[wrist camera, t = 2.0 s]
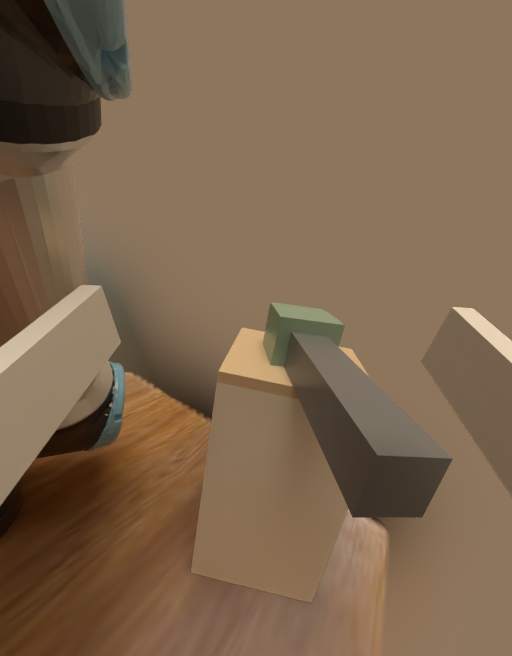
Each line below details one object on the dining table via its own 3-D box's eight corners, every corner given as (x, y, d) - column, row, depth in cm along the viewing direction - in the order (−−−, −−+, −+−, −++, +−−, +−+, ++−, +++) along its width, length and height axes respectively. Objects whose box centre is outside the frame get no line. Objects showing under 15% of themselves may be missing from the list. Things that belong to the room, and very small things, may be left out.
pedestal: (217, 481, 47) (242, 327, 38) (304, 501, 47) (351, 349, 37) (190, 572, 34) (218, 371, 25) (311, 603, 33) (387, 406, 24)
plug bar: (262, 343, 33) (270, 302, 32) (313, 349, 35) (324, 309, 33) (324, 517, 13) (356, 426, 11) (446, 517, 14) (492, 435, 12)
